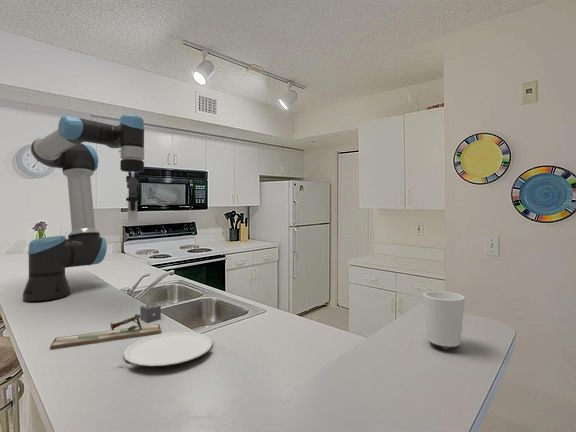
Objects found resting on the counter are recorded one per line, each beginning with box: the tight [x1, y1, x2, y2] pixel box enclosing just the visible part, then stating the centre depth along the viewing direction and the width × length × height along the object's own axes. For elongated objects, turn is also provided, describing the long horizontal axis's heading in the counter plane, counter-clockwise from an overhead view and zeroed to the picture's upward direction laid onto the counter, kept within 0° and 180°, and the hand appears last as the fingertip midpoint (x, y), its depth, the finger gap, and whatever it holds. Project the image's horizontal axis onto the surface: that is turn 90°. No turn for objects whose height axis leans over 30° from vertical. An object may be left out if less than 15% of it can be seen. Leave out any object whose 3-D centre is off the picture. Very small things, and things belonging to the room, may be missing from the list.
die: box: [139, 303, 162, 324], centre depth 106 cm, size 5×4×5 cm
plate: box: [123, 331, 213, 368], centre depth 83 cm, size 21×21×1 cm
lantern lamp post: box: [109, 313, 142, 331], centre depth 93 cm, size 4×2×8 cm
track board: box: [49, 323, 162, 351], centre depth 91 cm, size 6×26×1 cm, turn 116°
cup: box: [422, 290, 466, 350], centre depth 85 cm, size 10×10×13 cm
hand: (132, 220), depth 116 cm, fingers open, 13 cm apart
